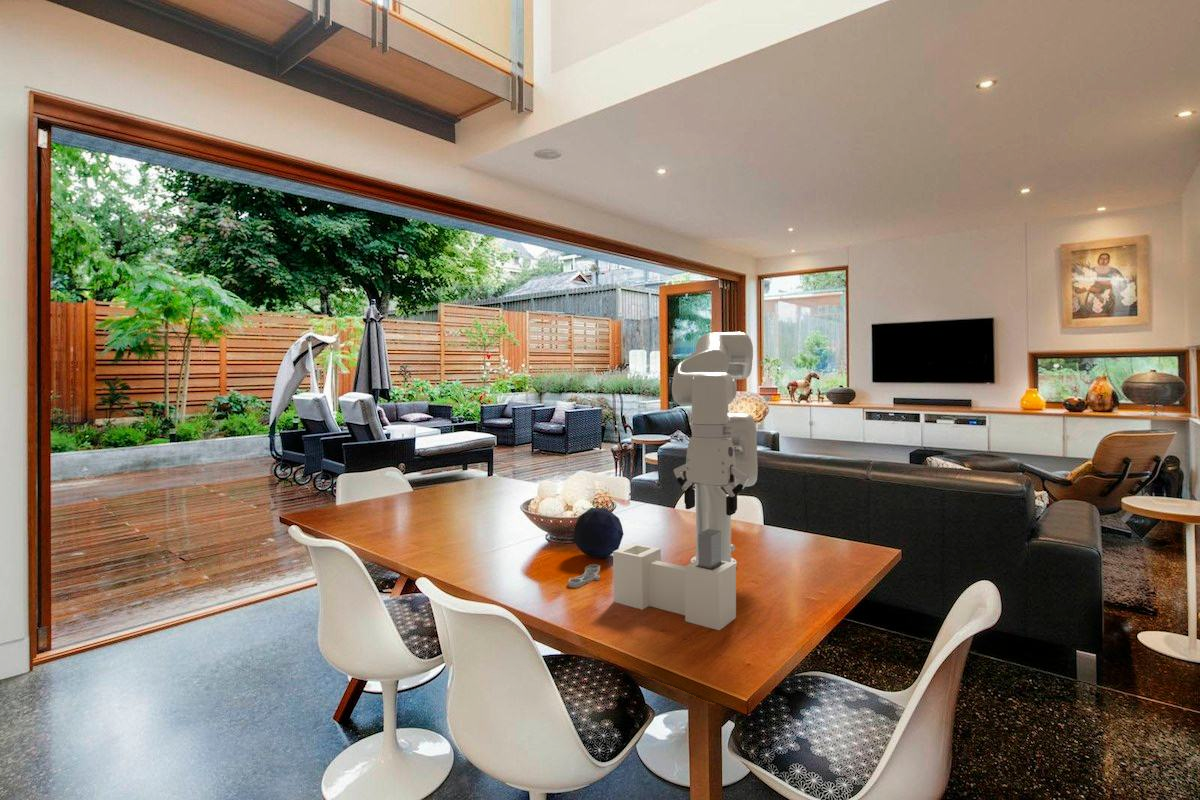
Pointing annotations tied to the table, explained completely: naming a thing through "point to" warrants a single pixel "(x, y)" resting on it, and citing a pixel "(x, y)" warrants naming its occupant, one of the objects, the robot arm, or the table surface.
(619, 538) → the decorative orb
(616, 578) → the double socket connector
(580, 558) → the table surface
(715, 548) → the gray rectangular block
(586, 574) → the bracket
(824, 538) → the table surface
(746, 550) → the table surface
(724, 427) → the robot arm
